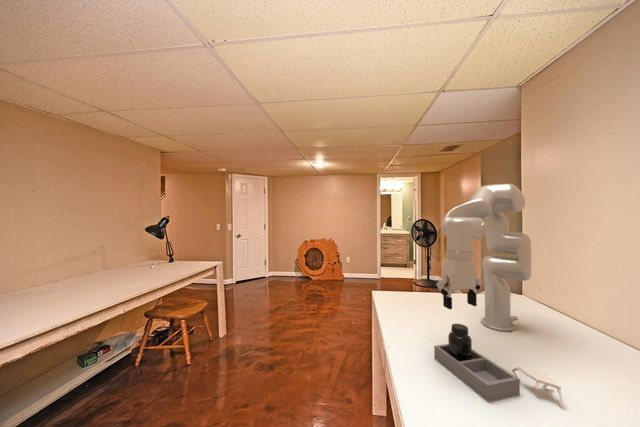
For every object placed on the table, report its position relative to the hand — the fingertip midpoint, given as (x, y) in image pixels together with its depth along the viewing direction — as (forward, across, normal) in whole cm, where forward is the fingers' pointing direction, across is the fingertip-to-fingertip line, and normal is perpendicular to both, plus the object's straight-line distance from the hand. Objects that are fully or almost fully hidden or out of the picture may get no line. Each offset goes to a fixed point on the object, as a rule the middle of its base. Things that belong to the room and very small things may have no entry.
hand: (459, 306), depth 84 cm
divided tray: (+20, +1, +5) cm, 20 cm away
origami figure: (+20, -11, +16) cm, 28 cm away
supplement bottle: (+19, 0, 0) cm, 19 cm away
